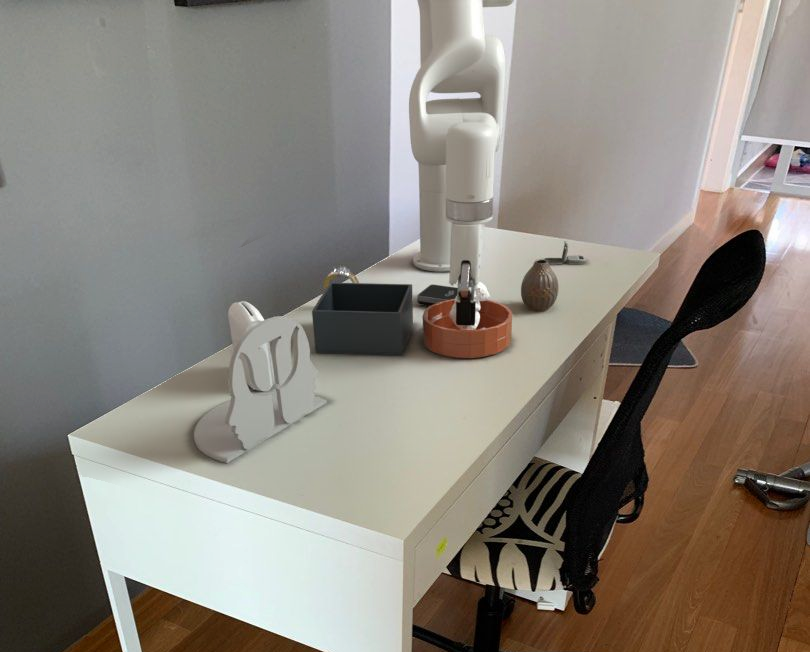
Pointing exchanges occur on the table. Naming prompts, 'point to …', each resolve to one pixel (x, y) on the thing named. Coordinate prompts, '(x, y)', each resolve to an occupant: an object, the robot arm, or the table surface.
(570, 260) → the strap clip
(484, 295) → the koala figurine
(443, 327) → the bowl
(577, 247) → the table surface
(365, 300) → the bin
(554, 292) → the vase
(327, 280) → the ring
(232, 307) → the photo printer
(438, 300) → the external hard drive
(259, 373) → the ornament
